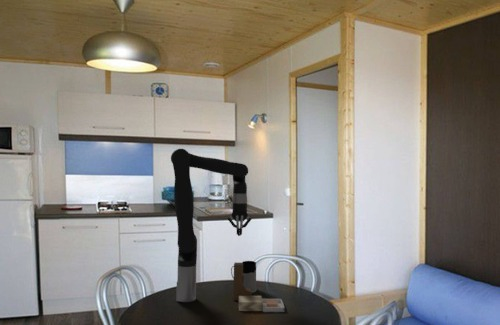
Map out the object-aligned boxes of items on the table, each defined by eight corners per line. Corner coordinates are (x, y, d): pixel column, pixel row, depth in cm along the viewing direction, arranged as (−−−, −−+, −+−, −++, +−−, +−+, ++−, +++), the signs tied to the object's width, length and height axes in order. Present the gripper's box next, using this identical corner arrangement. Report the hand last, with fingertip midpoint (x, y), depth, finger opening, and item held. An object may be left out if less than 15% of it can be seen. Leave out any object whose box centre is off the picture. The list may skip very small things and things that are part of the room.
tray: (262, 312, 176) (263, 307, 176) (261, 302, 188) (261, 298, 188) (284, 312, 177) (284, 307, 177) (281, 302, 189) (281, 298, 189)
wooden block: (251, 298, 195) (252, 262, 195) (251, 301, 191) (251, 264, 191) (233, 297, 195) (234, 262, 196) (233, 300, 191) (233, 264, 191)
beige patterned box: (238, 310, 177) (239, 302, 177) (238, 304, 186) (238, 295, 186) (262, 310, 178) (262, 302, 178) (261, 304, 187) (261, 295, 187)
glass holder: (258, 292, 204) (258, 264, 204) (232, 293, 201) (232, 265, 201) (254, 287, 213) (255, 260, 213) (229, 288, 210) (229, 261, 210)
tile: (277, 304, 180) (277, 308, 180) (276, 300, 185) (276, 304, 185) (267, 304, 180) (267, 308, 180) (266, 300, 185) (266, 304, 185)
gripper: (226, 202, 196) (226, 236, 195) (252, 202, 196) (252, 236, 196) (227, 201, 203) (226, 234, 203) (252, 201, 204) (251, 234, 203)
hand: (239, 235), depth 199 cm, fingers closed
